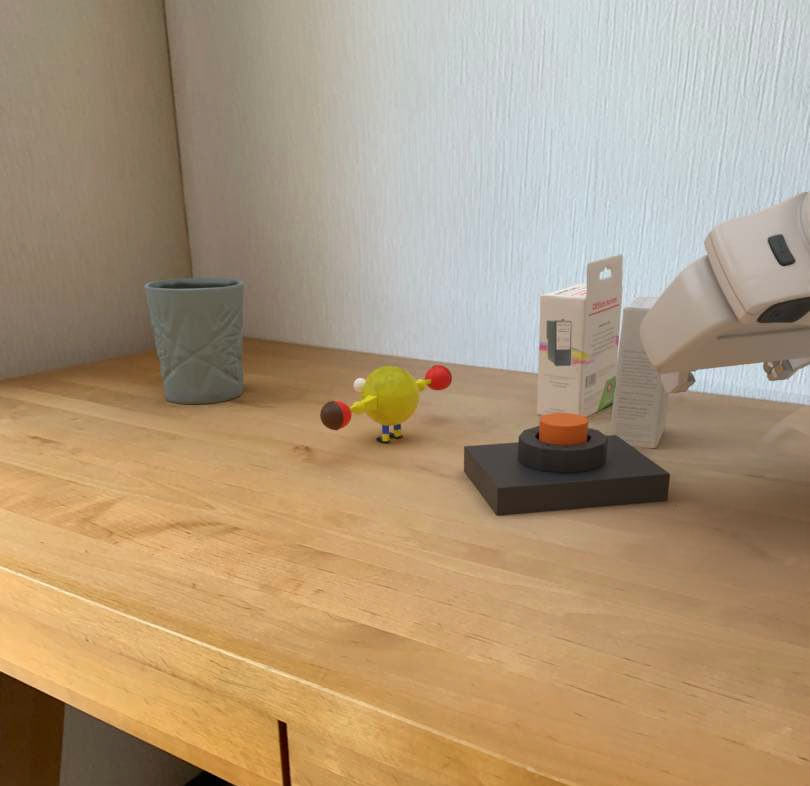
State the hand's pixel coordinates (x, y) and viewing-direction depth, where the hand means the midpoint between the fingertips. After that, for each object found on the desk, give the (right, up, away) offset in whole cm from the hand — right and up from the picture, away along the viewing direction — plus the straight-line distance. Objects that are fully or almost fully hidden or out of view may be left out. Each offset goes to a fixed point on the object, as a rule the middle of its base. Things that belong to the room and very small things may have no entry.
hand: (723, 379), depth 67 cm
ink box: (-7, +1, +21) cm, 22 cm away
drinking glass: (-46, +4, +30) cm, 55 cm away
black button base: (-12, -8, +1) cm, 15 cm away
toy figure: (-26, -3, +13) cm, 29 cm away
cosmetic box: (-3, -3, +12) cm, 13 cm away
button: (-12, -5, -1) cm, 13 cm away
